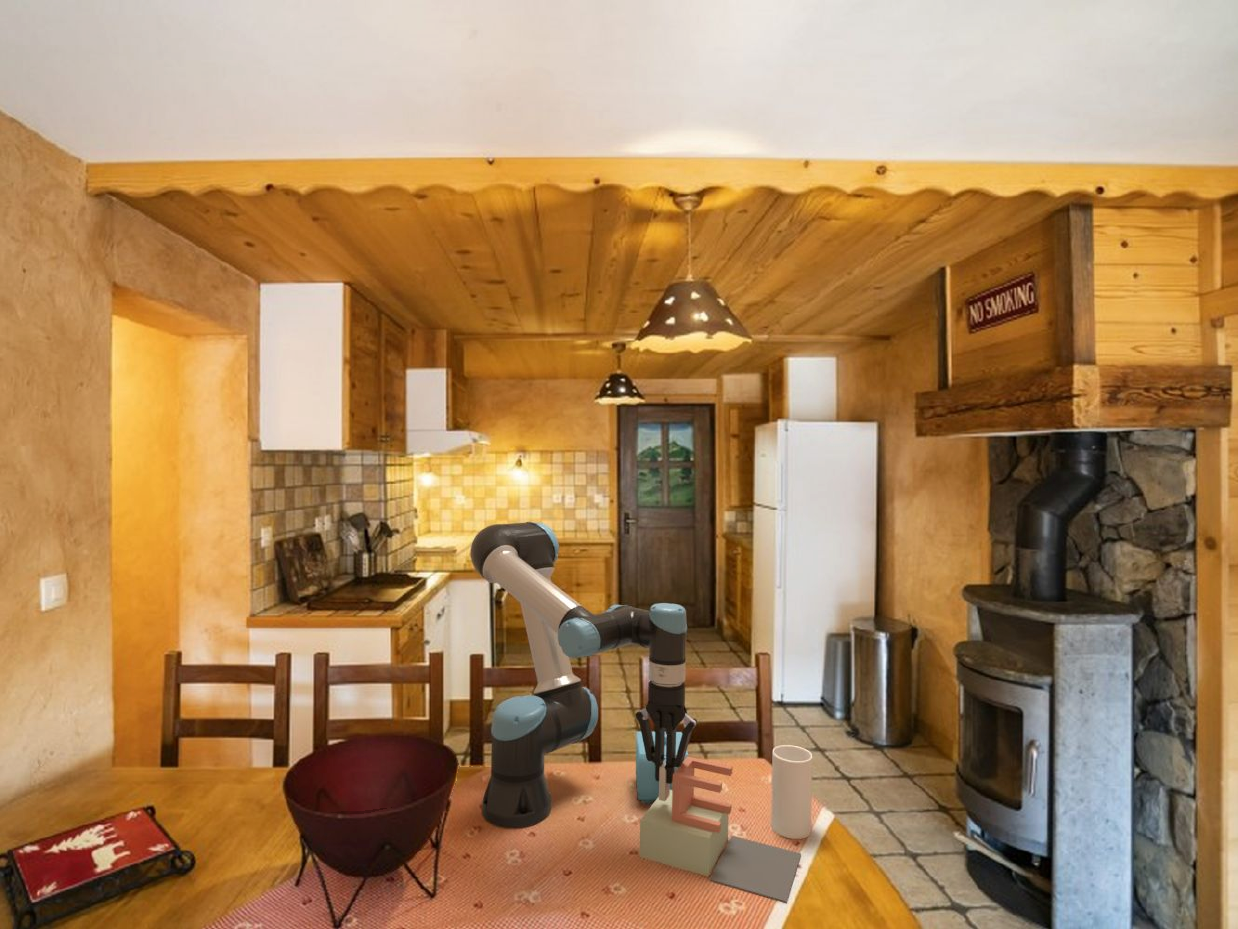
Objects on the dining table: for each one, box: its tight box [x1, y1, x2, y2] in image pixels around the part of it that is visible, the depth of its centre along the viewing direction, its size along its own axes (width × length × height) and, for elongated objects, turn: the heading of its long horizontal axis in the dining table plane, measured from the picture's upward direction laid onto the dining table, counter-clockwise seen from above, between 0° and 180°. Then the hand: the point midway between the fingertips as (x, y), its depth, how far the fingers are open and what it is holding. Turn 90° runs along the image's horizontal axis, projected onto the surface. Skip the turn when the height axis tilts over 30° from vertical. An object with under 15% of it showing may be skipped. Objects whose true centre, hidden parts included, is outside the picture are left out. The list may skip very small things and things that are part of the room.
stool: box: [672, 756, 733, 833], centre depth 129 cm, size 10×9×9 cm
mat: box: [709, 835, 802, 904], centre depth 125 cm, size 14×16×1 cm
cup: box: [770, 744, 813, 840], centre depth 139 cm, size 8×8×16 cm
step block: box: [638, 790, 730, 878], centre depth 131 cm, size 14×14×7 cm
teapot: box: [635, 730, 690, 804], centre depth 154 cm, size 22×11×14 cm, turn 1°
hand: (664, 797), depth 133 cm, fingers closed
